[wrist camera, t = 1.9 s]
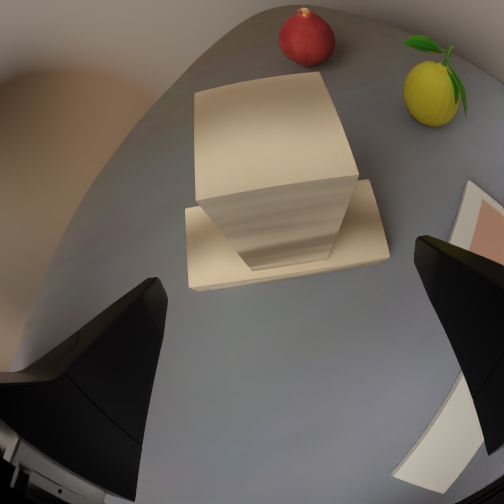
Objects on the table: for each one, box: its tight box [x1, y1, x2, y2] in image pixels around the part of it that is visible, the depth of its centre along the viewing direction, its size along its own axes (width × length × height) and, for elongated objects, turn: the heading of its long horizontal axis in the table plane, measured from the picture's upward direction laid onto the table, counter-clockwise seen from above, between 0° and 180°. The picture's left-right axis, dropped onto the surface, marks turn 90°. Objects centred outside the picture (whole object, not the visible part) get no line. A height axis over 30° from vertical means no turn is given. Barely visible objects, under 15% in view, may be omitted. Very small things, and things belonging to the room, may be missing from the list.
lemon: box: [403, 35, 467, 126], centre depth 17 cm, size 7×6×10 cm
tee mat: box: [391, 180, 504, 494], centre depth 15 cm, size 25×20×1 cm
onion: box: [279, 8, 335, 67], centre depth 22 cm, size 6×6×8 cm
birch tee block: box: [185, 72, 390, 291], centre depth 15 cm, size 6×14×13 cm, turn 97°
